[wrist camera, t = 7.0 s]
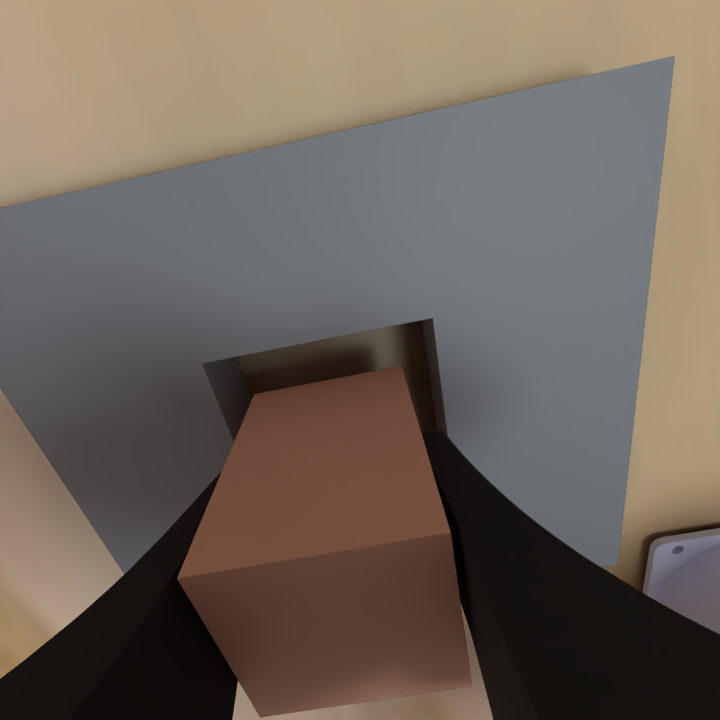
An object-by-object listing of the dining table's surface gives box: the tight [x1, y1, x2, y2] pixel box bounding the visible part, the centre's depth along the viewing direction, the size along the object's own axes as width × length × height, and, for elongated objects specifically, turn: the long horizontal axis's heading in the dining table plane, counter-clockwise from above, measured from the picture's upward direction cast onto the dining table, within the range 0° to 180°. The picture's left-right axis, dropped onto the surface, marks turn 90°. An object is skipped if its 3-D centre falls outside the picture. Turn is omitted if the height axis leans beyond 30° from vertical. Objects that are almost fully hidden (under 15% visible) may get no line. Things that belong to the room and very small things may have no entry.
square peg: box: [177, 366, 472, 717], centre depth 10 cm, size 4×4×6 cm
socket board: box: [0, 56, 675, 574], centre depth 13 cm, size 18×16×2 cm
